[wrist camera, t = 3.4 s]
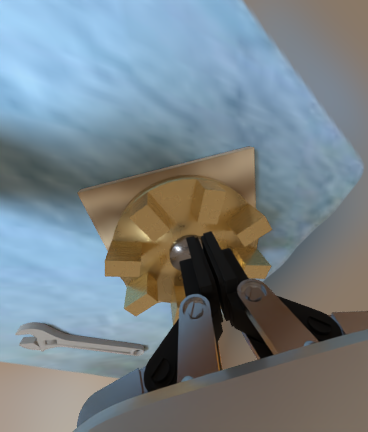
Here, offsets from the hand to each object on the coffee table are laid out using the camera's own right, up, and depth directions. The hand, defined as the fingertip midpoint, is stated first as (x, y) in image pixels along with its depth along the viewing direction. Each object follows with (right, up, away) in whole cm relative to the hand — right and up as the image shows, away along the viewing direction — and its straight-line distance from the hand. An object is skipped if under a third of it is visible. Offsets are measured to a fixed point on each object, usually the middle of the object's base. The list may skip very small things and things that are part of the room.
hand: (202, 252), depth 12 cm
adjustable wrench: (-22, -24, +28) cm, 43 cm away
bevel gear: (-1, -2, +18) cm, 18 cm away
